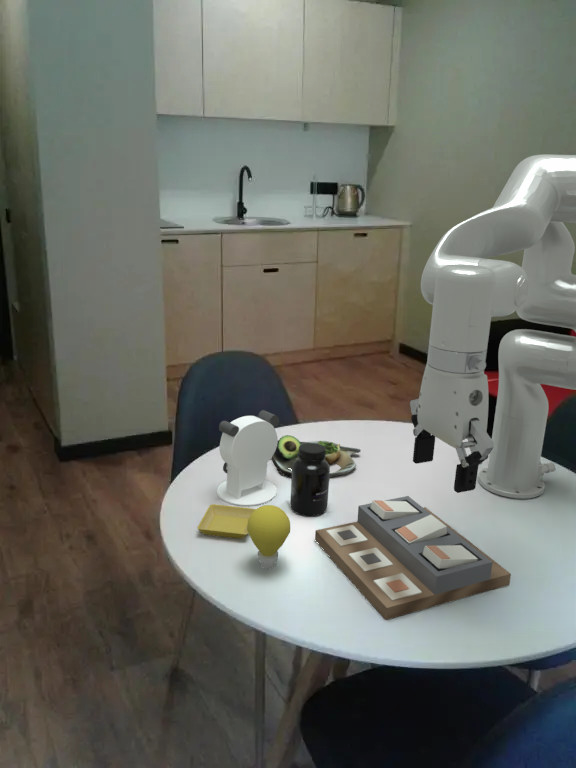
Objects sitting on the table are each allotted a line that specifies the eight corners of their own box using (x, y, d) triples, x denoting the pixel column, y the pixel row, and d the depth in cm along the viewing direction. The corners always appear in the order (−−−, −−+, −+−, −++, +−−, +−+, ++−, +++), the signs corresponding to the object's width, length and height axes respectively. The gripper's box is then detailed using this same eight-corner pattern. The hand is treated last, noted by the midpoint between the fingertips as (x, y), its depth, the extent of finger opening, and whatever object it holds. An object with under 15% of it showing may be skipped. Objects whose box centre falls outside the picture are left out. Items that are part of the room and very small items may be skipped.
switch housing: (406, 511, 119) (408, 495, 118) (489, 579, 100) (492, 561, 99) (357, 521, 115) (358, 505, 114) (434, 594, 96) (436, 576, 95)
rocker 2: (431, 521, 109) (431, 513, 109) (446, 533, 106) (446, 525, 105) (395, 537, 107) (394, 529, 106) (409, 550, 104) (409, 542, 103)
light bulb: (257, 581, 101) (258, 522, 98) (239, 558, 106) (240, 502, 103) (296, 570, 104) (299, 513, 101) (277, 548, 109) (279, 494, 106)
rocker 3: (458, 553, 103) (461, 544, 103) (475, 567, 100) (478, 557, 99) (422, 554, 100) (425, 544, 100) (438, 568, 97) (441, 559, 96)
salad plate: (348, 442, 153) (349, 423, 151) (375, 477, 136) (377, 456, 135) (265, 448, 149) (265, 428, 147) (282, 484, 132) (283, 463, 131)
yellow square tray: (246, 545, 111) (247, 534, 110) (196, 539, 112) (196, 528, 111) (257, 519, 119) (257, 508, 118) (210, 514, 120) (210, 503, 120)
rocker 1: (403, 508, 116) (406, 500, 116) (417, 519, 113) (419, 511, 112) (370, 508, 113) (372, 499, 113) (383, 519, 110) (385, 510, 109)
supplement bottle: (324, 519, 119) (328, 457, 115) (286, 514, 120) (289, 453, 116) (330, 501, 125) (333, 442, 122) (294, 497, 127) (296, 438, 123)
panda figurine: (253, 472, 136) (254, 403, 131) (291, 493, 128) (294, 419, 123) (205, 489, 128) (204, 416, 123) (242, 512, 120) (243, 435, 116)
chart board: (424, 517, 121) (425, 505, 120) (509, 585, 102) (511, 571, 101) (314, 540, 112) (315, 528, 111) (385, 620, 93) (387, 606, 92)
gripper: (524, 374, 83) (505, 498, 89) (440, 341, 98) (428, 448, 104) (475, 380, 80) (459, 508, 86) (397, 345, 95) (387, 455, 101)
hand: (442, 475), depth 95 cm, fingers open, 9 cm apart
